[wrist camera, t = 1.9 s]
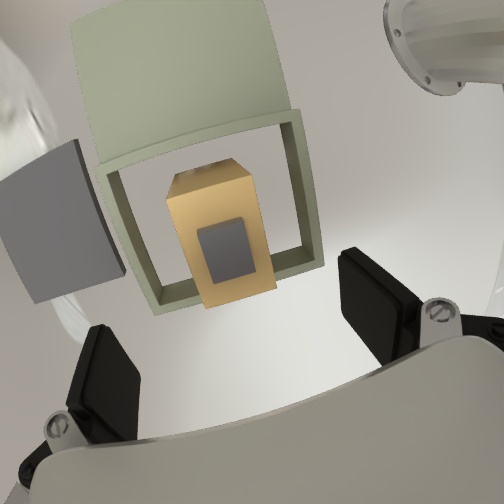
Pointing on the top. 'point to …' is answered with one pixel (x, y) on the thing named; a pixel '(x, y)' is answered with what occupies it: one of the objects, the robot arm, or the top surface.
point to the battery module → (221, 232)
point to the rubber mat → (56, 226)
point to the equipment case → (186, 109)
